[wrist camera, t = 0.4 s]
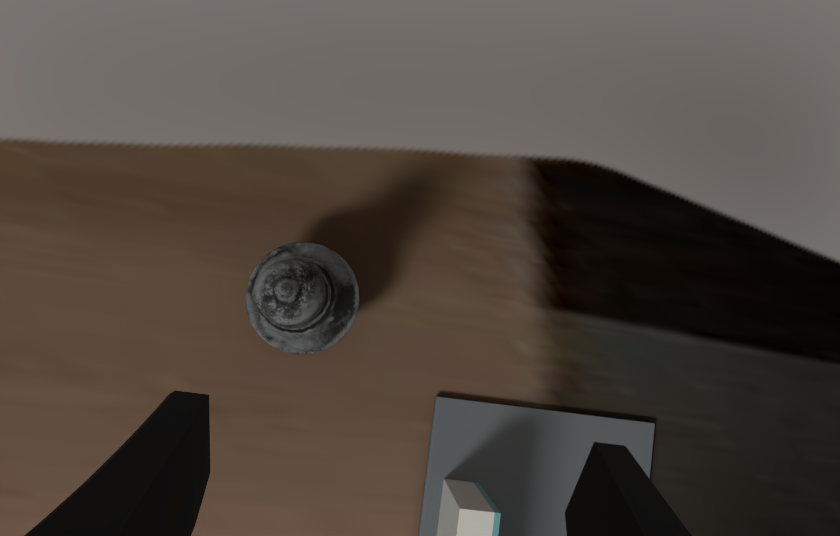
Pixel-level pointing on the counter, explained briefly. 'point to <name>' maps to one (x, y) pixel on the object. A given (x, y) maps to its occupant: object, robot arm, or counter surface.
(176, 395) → the robot arm
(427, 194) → the counter surface
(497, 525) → the tile
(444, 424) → the mat
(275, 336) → the dark grey upright figure
